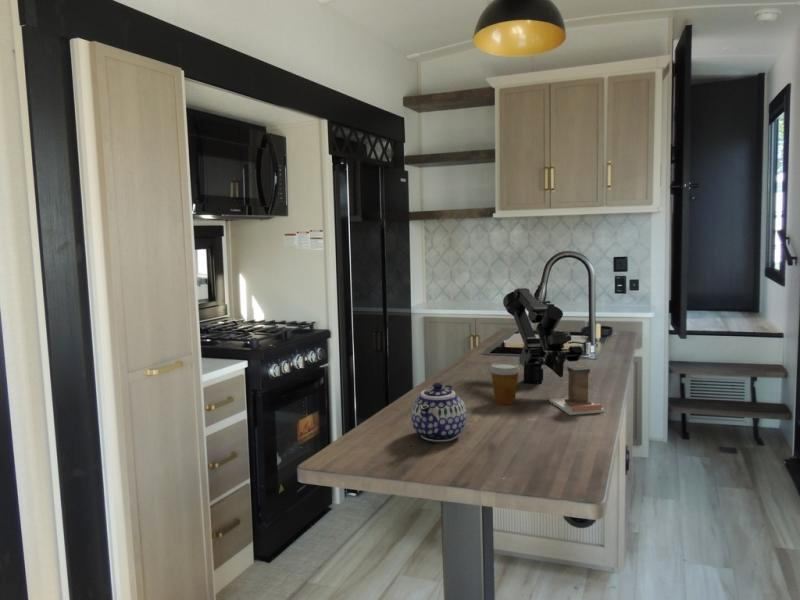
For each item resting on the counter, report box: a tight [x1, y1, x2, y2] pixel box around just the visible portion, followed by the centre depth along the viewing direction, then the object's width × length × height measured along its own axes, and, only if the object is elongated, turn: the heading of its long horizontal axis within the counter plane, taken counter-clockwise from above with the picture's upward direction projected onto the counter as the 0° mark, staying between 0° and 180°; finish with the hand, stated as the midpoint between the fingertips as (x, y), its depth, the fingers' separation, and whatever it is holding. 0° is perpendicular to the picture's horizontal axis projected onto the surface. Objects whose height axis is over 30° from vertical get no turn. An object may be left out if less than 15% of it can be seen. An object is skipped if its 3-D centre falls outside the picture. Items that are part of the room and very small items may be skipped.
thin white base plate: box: [549, 397, 605, 416], centre depth 208 cm, size 15×11×2 cm
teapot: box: [410, 382, 467, 442], centre depth 181 cm, size 25×15×15 cm, turn 155°
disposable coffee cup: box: [489, 362, 521, 405], centre depth 215 cm, size 10×10×12 cm
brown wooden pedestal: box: [564, 365, 593, 406], centre depth 206 cm, size 6×6×11 cm
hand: (561, 376), depth 218 cm, fingers closed
